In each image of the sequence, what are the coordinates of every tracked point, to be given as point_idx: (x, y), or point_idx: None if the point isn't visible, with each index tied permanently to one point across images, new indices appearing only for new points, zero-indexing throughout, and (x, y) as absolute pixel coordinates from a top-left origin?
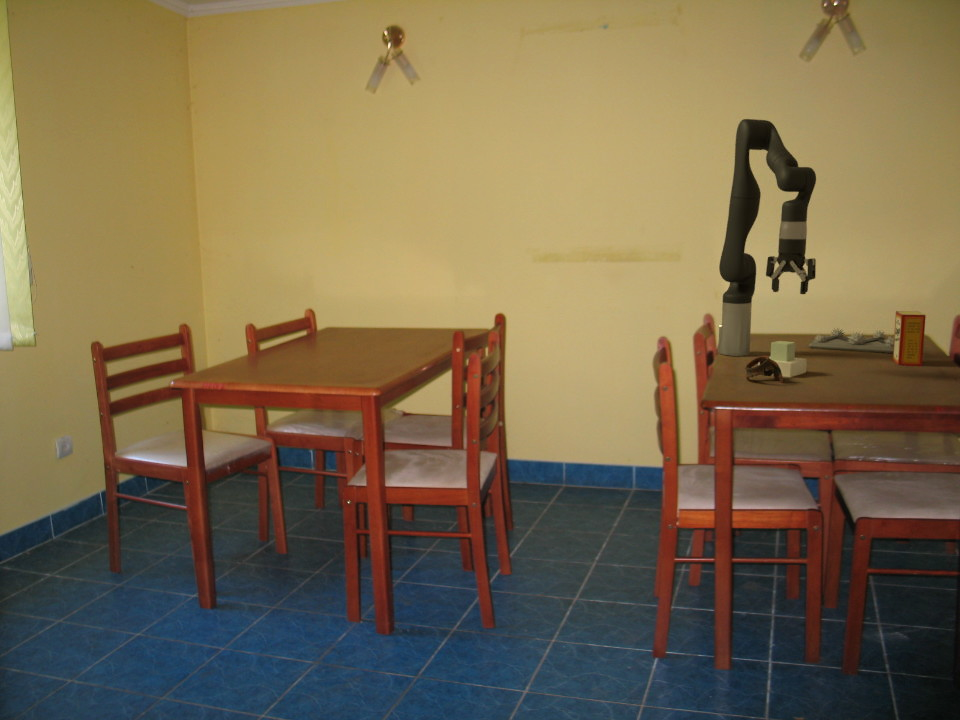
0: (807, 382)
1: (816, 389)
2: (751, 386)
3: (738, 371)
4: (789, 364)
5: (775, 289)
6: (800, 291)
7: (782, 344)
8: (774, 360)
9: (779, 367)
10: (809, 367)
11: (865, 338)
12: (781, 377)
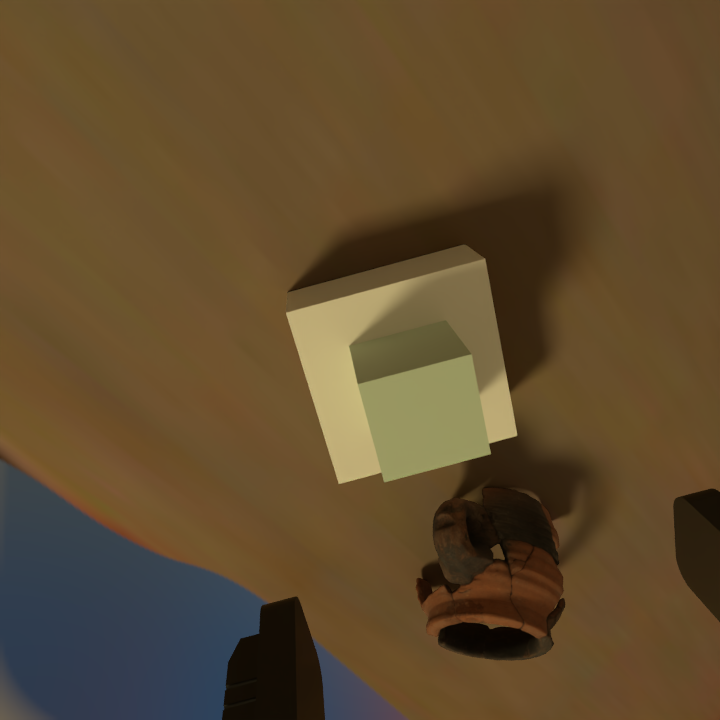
0: (612, 427)
1: None
2: None
3: (250, 488)
4: (509, 434)
5: (322, 692)
6: (705, 600)
7: (458, 460)
8: None
9: None
10: (373, 89)
11: None
12: (557, 535)
